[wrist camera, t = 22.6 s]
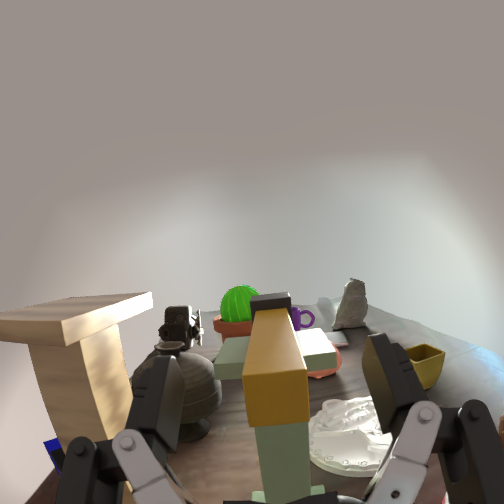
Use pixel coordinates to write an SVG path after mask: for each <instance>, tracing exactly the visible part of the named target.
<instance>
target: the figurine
mask: <svg viewBox="0 0 504 504" xmlns="http://www.w3.org/2000/svg"><path fill="white" fill-rule="evenodd" d="M364 284H365V283H364V282H362V281H359V280H356V279H352V278H350V281H349V282H348V283H347V284H346V286H345V287H344V294H343V296H342V299H341V302H340V305H339V307H338V310H337V313H336V317H335V323H334V324H333V325H332V328H334V329H336V330H338V329H343V328H355V327H362V326H365V325H366V323H365V322H363V319H364V317H365V316H366V314H367V309H368V304H367V299H366V297H365V295H366V293H365V286H364Z"/></svg>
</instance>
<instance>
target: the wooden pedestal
mask: <svg viewBox="0 0 504 504" xmlns="http://www.w3.org/2000/svg"><path fill="white" fill-rule="evenodd" d="M152 307H153V305H152V298H151V292H143V293H129V294H117V295H101V296H86V297H71V298H66V299H61V300H57V301H52V302H48V303H43V304H38V305H34V306H30V307H24V308H20V309H15V310H10V311H5V312H1V313H0V341H5V342H14V343H23V344H24V343H25V344H28V347H29V352H30V356H31V360H32V363H33V367H34V371H35V374H36V378H37V381H38V385H39V388H40V391H41V394H42V398H43V401H44V403H45V406H46V409H47V412H48V414H49V417H50V420H51V422H52V425H53V428H54V430H55V433H56V435H57V438H58V440H59V442H60V445H61V447H62V449H63V451H64V453H65V455H66V451H67V447H68V445H69V443H70V442H71V441H72V440H73V439H74V438H76V437H80V436H84V437H87V438H89V439H90V440H91V441H92V442H98V441H104V440H110V439H113V438H114V437H115V435H116V434H117V433H118V432H120V431H122V430H124V428H125V426H126V422H127V418H128V414H129V411H130V407H131V403H132V400H133V394H132V391H131V387H130V383H129V378H128V374H127V370H126V366H125V361H124V356H123V352H122V347H121V341H120V336H119V331H118V325H117V323H119V322H121V321H124V320H126V319H128V318H130V317H132V316H135V315H137V314H139V313H141V312H143V311H145V310H148V309H150V308H152ZM132 491H133V489H132V487H131V485H130V483H129V481H125V483H124V491H123V500H122V504H136V502H135V501H134V499H133V497H132V494H131V492H132Z"/></svg>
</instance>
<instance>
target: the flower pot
mask: <svg viewBox="0 0 504 504" xmlns="http://www.w3.org/2000/svg"><path fill="white" fill-rule="evenodd" d="M405 350H406V352H407V354H408V356H409V358H410V362H412V365H413V367H414V370H415V371H416V373H417V375H418V378H419V380H420V382H421V384H422V387H423V389H424V390H425V389H428V388H430V387H432V386H433V385H434V384H435V382H436V381H437V379H438V378H439V376H440V373H441V370H442V366H443V362H444V357H445V352H444V351H442V350H440V349H437V348H435V347H433V346H430V345H428V344H425V343H424V344H420V345H417V346H414V347H411V348H407V349H405Z"/></svg>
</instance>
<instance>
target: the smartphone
mask: <svg viewBox="0 0 504 504" xmlns="http://www.w3.org/2000/svg"><path fill="white" fill-rule="evenodd" d="M324 334H325V336H326V337H327V339H328V340H329V341H331V342H332V343H333V344H334V345H335V347H338V346H346V345H348V341H347V339H346V337H345V335H344V333H343V331H338V332H330V333H324Z"/></svg>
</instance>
